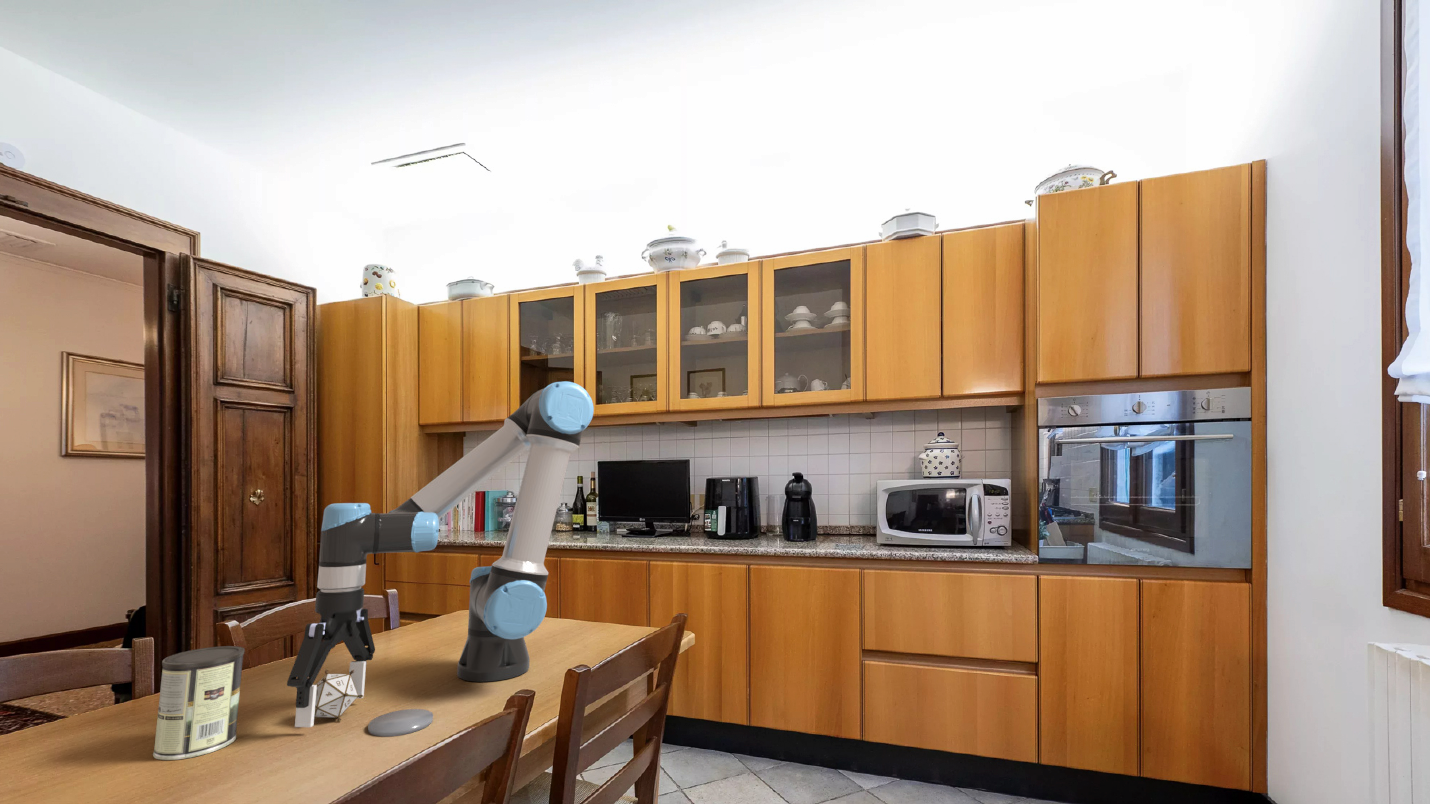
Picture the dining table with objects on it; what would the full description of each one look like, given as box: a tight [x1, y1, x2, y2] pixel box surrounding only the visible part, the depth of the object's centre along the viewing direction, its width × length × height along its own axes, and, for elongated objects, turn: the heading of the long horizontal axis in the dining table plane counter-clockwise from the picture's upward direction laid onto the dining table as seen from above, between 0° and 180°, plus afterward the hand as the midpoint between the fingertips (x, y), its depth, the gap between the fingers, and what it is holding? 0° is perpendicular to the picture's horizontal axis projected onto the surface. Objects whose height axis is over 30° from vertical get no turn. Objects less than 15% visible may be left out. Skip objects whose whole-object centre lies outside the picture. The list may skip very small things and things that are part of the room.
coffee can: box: [152, 645, 245, 761], centre depth 98 cm, size 10×10×14 cm
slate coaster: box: [367, 708, 434, 737], centre depth 106 cm, size 10×10×1 cm
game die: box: [314, 669, 365, 723], centre depth 109 cm, size 9×8×10 cm
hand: (331, 711), depth 108 cm, fingers open, 13 cm apart
